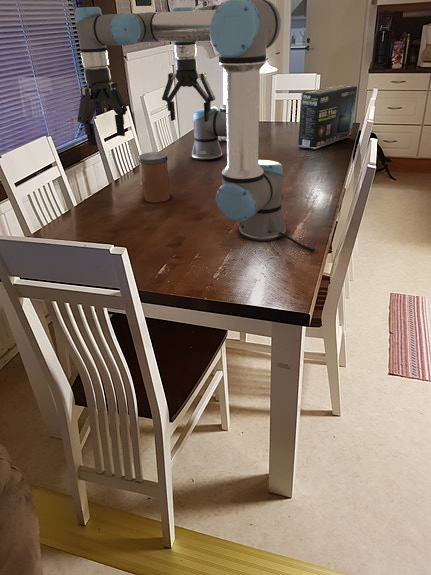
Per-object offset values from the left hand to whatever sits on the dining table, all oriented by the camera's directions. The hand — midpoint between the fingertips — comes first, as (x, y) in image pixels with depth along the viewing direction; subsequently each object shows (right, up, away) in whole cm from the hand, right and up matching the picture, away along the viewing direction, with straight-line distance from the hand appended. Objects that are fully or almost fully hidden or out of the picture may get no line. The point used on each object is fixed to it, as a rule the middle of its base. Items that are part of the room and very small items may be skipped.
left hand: (189, 120), depth 174 cm
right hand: (-25, -16, -26) cm, 39 cm away
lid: (-14, -14, -1) cm, 20 cm away
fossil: (+20, +19, +83) cm, 87 cm away
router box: (+68, +14, +71) cm, 100 cm away
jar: (-13, -28, +8) cm, 32 cm away
